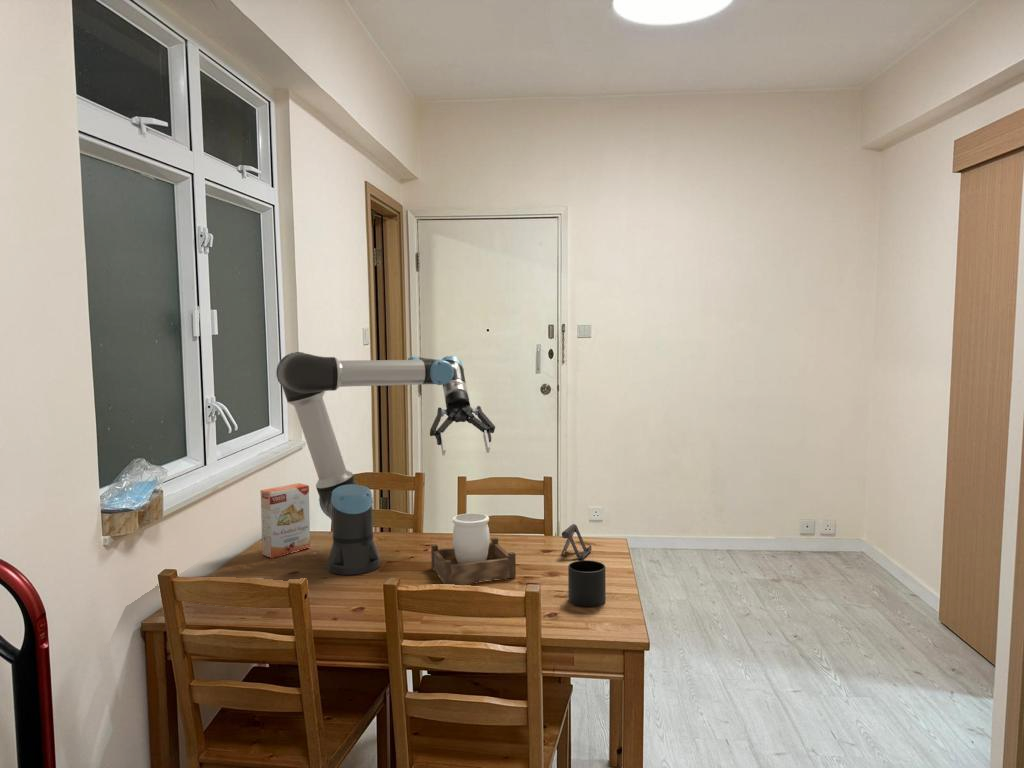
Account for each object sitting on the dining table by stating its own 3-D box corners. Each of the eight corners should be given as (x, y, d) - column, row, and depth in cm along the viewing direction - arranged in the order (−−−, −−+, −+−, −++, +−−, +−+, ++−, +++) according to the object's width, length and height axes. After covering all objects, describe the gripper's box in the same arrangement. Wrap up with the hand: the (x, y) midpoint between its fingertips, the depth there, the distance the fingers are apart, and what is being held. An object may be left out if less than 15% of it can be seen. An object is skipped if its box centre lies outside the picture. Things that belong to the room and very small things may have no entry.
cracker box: (272, 560, 222) (269, 492, 220) (261, 556, 226) (259, 489, 224) (311, 548, 232) (309, 484, 231) (301, 545, 236) (298, 482, 235)
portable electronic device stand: (582, 560, 217) (582, 533, 217) (558, 557, 220) (557, 530, 220) (591, 552, 225) (591, 525, 225) (567, 549, 228) (567, 523, 228)
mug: (607, 591, 192) (607, 557, 191) (604, 608, 180) (604, 573, 179) (571, 589, 194) (571, 556, 193) (566, 606, 182) (566, 571, 181)
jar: (476, 577, 200) (475, 524, 199) (445, 571, 206) (444, 519, 204) (497, 566, 209) (496, 515, 208) (467, 561, 214) (466, 511, 213)
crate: (446, 587, 196) (445, 562, 196) (431, 568, 212) (431, 545, 211) (515, 578, 203) (515, 553, 202) (496, 560, 219) (496, 537, 218)
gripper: (418, 391, 226) (426, 446, 213) (496, 388, 233) (508, 441, 219) (416, 406, 232) (424, 461, 219) (492, 403, 238) (504, 456, 225)
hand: (466, 451), depth 219 cm, fingers open, 13 cm apart
